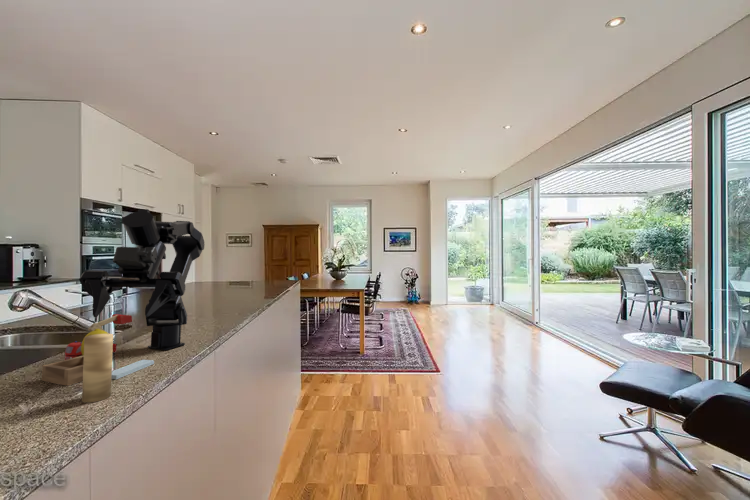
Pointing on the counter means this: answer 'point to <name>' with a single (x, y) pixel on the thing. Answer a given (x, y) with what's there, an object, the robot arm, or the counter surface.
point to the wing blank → (131, 368)
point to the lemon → (96, 331)
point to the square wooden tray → (64, 371)
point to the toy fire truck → (75, 347)
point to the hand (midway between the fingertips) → (120, 315)
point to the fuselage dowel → (97, 367)
